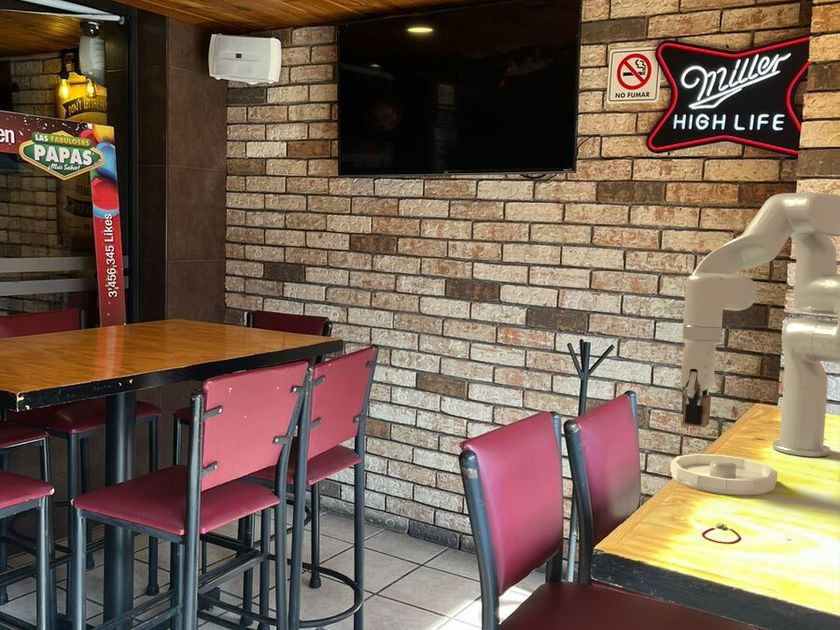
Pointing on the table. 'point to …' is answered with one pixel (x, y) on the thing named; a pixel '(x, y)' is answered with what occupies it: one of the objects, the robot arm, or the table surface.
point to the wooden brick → (705, 411)
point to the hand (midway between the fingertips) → (696, 421)
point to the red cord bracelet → (719, 525)
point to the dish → (738, 486)
